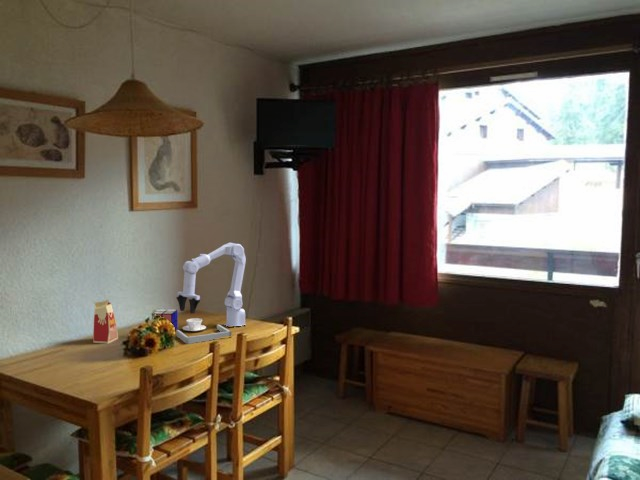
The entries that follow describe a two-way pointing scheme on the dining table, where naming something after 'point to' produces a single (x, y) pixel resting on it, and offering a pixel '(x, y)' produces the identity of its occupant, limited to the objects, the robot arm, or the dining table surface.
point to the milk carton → (104, 323)
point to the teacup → (194, 325)
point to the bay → (205, 337)
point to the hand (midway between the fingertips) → (187, 311)
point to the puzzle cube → (168, 316)
